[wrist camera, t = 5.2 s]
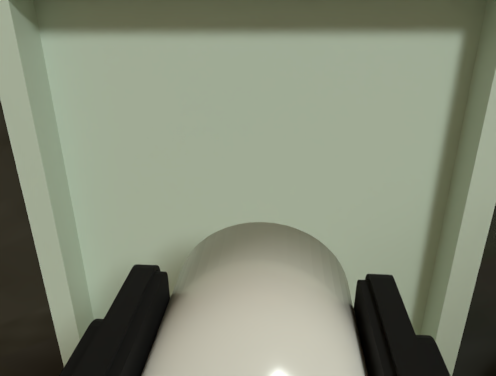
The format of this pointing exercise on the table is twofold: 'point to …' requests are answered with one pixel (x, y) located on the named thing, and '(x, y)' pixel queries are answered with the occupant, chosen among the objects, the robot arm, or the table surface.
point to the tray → (254, 140)
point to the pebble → (259, 309)
